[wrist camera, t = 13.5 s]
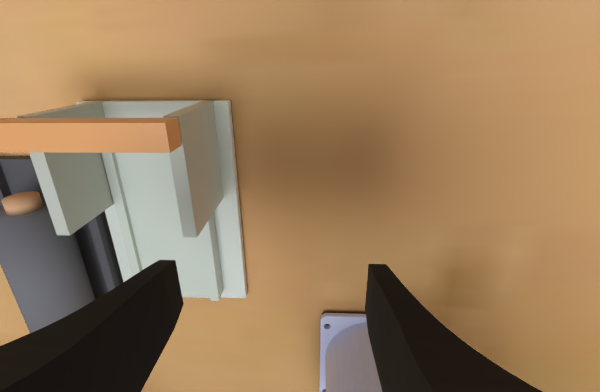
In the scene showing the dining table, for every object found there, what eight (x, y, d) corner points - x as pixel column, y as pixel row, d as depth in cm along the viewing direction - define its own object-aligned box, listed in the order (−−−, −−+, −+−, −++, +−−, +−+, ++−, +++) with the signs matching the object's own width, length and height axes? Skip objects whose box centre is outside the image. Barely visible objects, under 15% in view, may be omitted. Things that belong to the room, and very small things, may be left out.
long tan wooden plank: (181, 145, 14) (170, 152, 13) (-8, 145, 15) (-35, 152, 14) (177, 117, 14) (165, 122, 13) (-19, 118, 14) (-47, 123, 13)
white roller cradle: (247, 292, 25) (228, 355, 20) (131, 289, 25) (82, 350, 20) (230, 99, 20) (198, 115, 14) (82, 100, 20) (-2, 116, 15)
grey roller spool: (112, 311, 26) (84, 353, 22) (59, 313, 26) (22, 356, 22) (74, 183, 22) (32, 209, 18) (10, 185, 22) (-45, 212, 18)
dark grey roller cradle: (131, 305, 26) (122, 316, 25) (52, 303, 26) (41, 313, 25) (92, 156, 21) (80, 162, 20) (-3, 156, 22) (-20, 161, 21)
